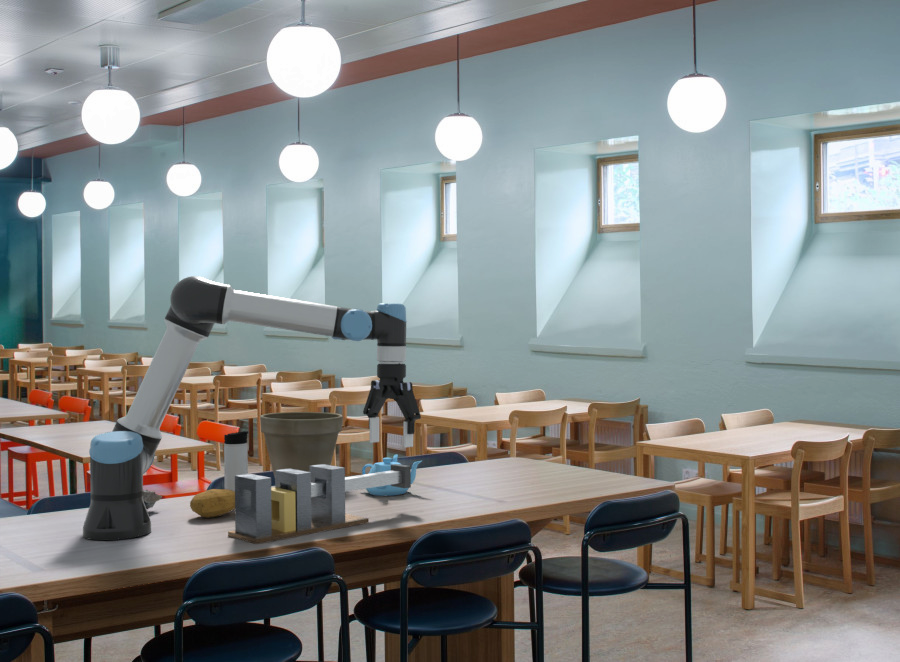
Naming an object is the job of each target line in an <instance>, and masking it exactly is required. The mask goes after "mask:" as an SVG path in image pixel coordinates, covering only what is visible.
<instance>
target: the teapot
mask: <svg viewBox="0 0 900 662" xmlns="http://www.w3.org/2000/svg"><path fill="white" fill-rule="evenodd" d="M398 458H399V455H398V454H397V453H396V454H394V455H393V457H383V458H382V461H380V462H375V463H374V464H372V463H366V464H365V465H364V466H363V467H362V469H361V475H364V474H371V473H378V472H385V471H391V465H392V464H400V465H402V463H400V462H398ZM422 462H423V460H418V461H414V462H413V464H412V465H411V485H413V483H414V482H415V480H416V475H417V468H418V466H419V464H420V463H422ZM368 467H370V469H369V471H368V473H366V469H367V468H368ZM409 489H410V488H400V487H394V486H391V485H385V486H379V487H372V488H366V489H365V490H366V491H367V493H368V494H370V495H373V496H380V497H383V496H385V497H388V496H399V495H400V494H401V495H404V494H406V493H407V492H408V490H409ZM401 495H400V496H401Z"/></svg>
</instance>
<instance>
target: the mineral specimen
mask: <svg viewBox="0 0 900 662" xmlns="http://www.w3.org/2000/svg"><path fill="white" fill-rule="evenodd" d="M162 497H163V496H162V495H159V494H157V493H156V491H154V490H148V489H143V501H144V504H145V506H146V509H147V510H149V509H152V508H153V507H154V506H155V504H156V503H157V502H159V500H161V499H162Z"/></svg>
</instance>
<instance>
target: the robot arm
mask: <svg viewBox="0 0 900 662" xmlns="http://www.w3.org/2000/svg"><path fill="white" fill-rule="evenodd" d="M169 302H170V306H169V308H168V311H167V312H166V315H165V317H164V319H163V320H164V323H165V325H166V330H165V332H164V334H163V337H162V338H161V341H160V343H159V345H158V346H157V349H156V351H155V353H154V355H153V358H152V360H151V361H150V364H149V366H148V368H147V370H146V373H145V375H144V377H143V379H142V381H141V384H140V385H139V387H138V390H137V392H136V394H135V396H134V399H133V401H132V403H131V405H130V407H129V409H128V411H127V414H126V415H124V416H123V417H120V418H118V419H117V420H116V422H115V424H114V427H113V429H112V431H108V432H105V433H99V434H97V435H95V436H93V438H92V439H91V440H90V446H89V447H90V448H89V450H88V452H89V461H90V463H89V466H90V468H89V474H90V479H89V480H90V504H89V508H88V511H87V513H86V517H85V519H84V523H83V525H82V537H83V538H84V539H87V540H95V541H114V540H116V541H117V540H118V541H119V540H126V539H127V540H128V539H133V538H137V537H143V536H146V535H148V534H149V533H152V521H151V518H150V514H149V512H148V509H146V506H145V504H144V501H143V490H144V475H145V474H146V472H148V470H149V469H150V468H151V466H152V465H153V463H154V460H155V456H156V454H155V453H156V452H157V450H158V447H159V445H160V442H161V441H162V438H163V435H162V432H161V430H160V429H161V426H162V424H163V422H164V419H165V417H166V415H167V413H168V410H169V408H170V406H171V404H172V402H173V400H174V397H175V395H176V393H177V391H178V390H179V387H180V385H181V382H182V380H183V378H184V376H185V374H186V371H187V370H188V367H189V365H190V363H191V360H192V358H193V357H194V355H195V352H196V350H197V347H198V345H199V343H200V342H202V341H204V340H207V339H208V338H209V336H210V335H211V332H212V330H213V328H214V325H215V324H218V325H225V324H227V323H228V322H233V323H239V324H245V325H246V324H247V325H253V326H260V327H265V328H273V329H279V330H286V331H291V332H292V331H293V332H298V333H306V334H313V335H318V336H319V335H320V336H327V337H331V339H332V340H339V341H340V340H341V341H355V342H360V341H362V340H363V341H364V340H367V341H370V340H372V341H375V340H376V341H377V344H376V345H377V346H376V361H377V362H378V363H377V364H376V376H377V378H379V379H375V380H373V379H372V380H371V382H370V389H369V393H368V395H367V399H366V402H365V405H364V406H363V407H364V408H363V411H362V414H363V415H365V416H367V417H368V430H369V443H371V444H373V443H379V442H380V417H379V413H380V412H381V410H382V408H383V406H384V405H385V403H386V401H387V400H388V399H390V400H393V401H395V402H396V404H397V406H398V408H399V410H400V412H401V413H402V416H403V417H404V420H403V438H402V439H403V444H402V445H403V448H414V435H415V422H416V421H417V420H420V419H421V418H422V417H421V416H422V415H421V412H420V409H419V406H418V403H417V400H416V397H415V394H414V389H413V383H412V382H411V381H407V382H404V379H405V378H406V377H407V365H406V363H404V362H406V361H407V347H406V345H407V322H408V321H407V308H406V306H405V305H404V304H403V303H390V302H389V303H383V302H382V303H378V305H377V307H376V310H371V311H370V310H363V309H361V308H360V309H359V308H348V307H342V306H336V305H331V304H330V305H329V304H323V303H320V302H319V303H317V302H311V301H304V300H300V299H292V298H286V297H280V296H274V295H267V294H262V293H261V294H260V293H254V292H250V291H249V292H248V291H243V290H235V289H234V288H233V287H232V286H231V284H226V283H220V282H218V281H217V282H215V281H212V280H211V279H207V278H205V277H203V276H199V275H198V276H197V275H193V276H187V277H185V278H182V279H181V280H179V281H178V282H177V283H176V284H175V285H174V287H173V288H172V290H171V293H170V298H169Z"/></svg>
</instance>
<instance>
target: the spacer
mask: <svg viewBox="0 0 900 662" xmlns="http://www.w3.org/2000/svg"><path fill="white" fill-rule="evenodd" d="M271 513H272V529H274V530H278V531H282V532H290V531H295V530H296V507H295V491H290V490H285V489H281V488H276V487H275V486H271Z"/></svg>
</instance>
